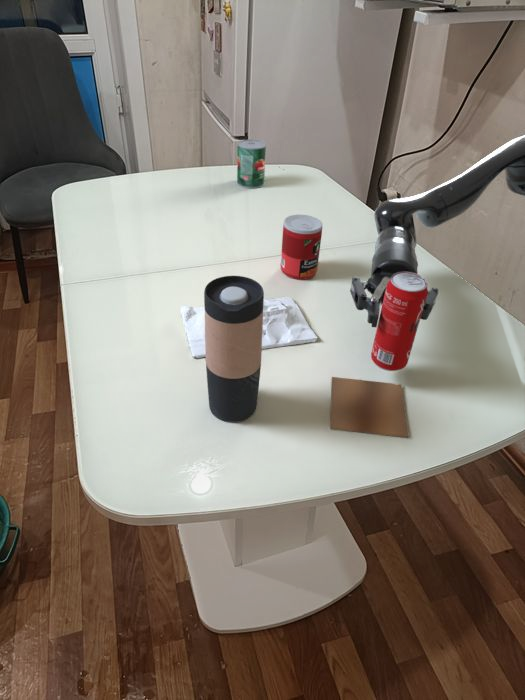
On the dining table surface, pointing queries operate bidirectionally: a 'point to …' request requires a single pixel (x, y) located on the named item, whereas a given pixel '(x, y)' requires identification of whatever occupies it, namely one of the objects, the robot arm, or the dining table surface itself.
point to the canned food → (300, 246)
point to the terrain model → (278, 328)
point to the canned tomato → (251, 163)
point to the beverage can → (398, 320)
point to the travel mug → (233, 346)
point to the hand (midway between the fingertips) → (392, 324)
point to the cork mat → (368, 407)
